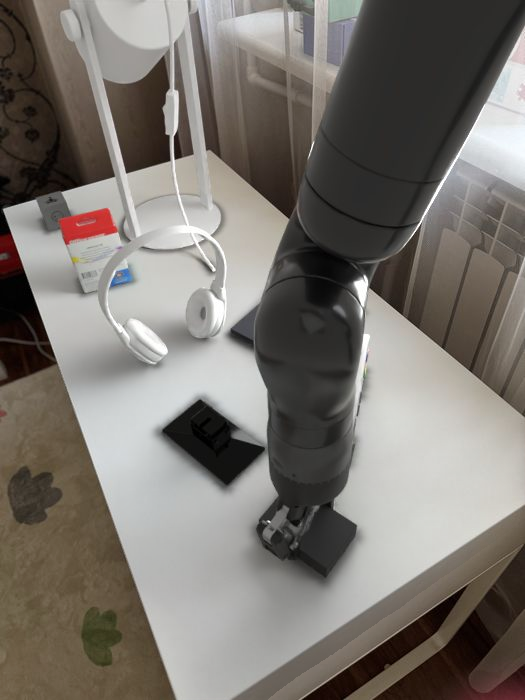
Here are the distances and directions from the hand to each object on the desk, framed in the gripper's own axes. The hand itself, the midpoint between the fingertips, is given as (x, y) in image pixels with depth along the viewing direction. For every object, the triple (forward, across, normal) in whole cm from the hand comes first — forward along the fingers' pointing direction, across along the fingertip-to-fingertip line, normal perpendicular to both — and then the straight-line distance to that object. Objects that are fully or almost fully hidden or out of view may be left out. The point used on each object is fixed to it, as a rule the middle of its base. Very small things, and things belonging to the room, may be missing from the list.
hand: (307, 529), depth 60 cm
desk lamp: (+1, +36, +55) cm, 66 cm away
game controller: (+1, +17, +5) cm, 18 cm away
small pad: (+1, 0, 0) cm, 1 cm away
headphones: (+1, +13, +33) cm, 35 cm away
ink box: (+1, +17, +55) cm, 58 cm away
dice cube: (+1, +24, +78) cm, 82 cm away
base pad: (+1, +28, +21) cm, 35 cm away
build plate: (+1, +3, +17) cm, 17 cm away
